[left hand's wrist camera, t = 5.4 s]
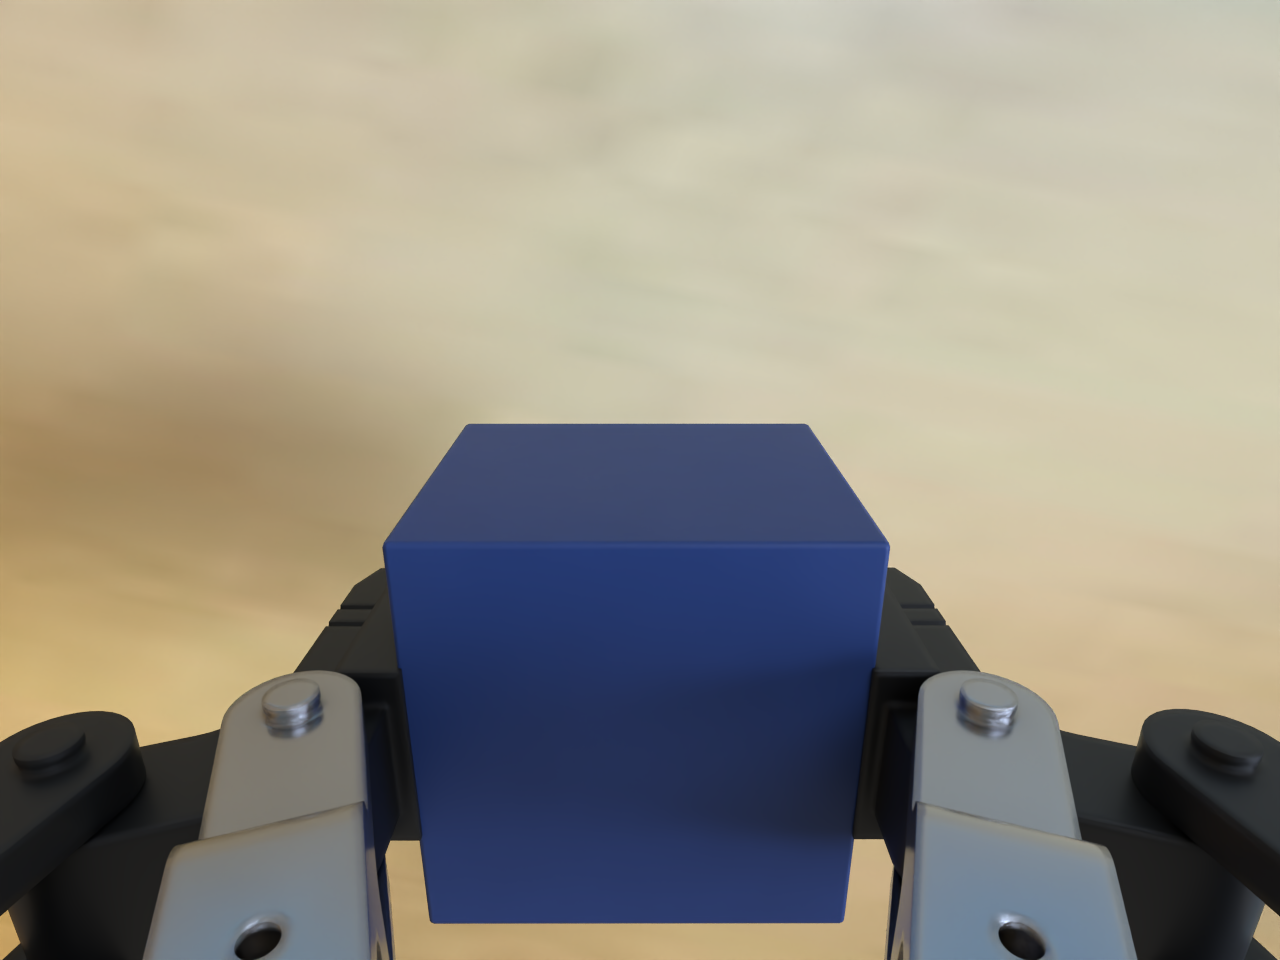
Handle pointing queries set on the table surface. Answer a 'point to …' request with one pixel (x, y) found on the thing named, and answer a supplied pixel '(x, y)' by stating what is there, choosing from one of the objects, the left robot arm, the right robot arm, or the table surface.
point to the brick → (636, 672)
